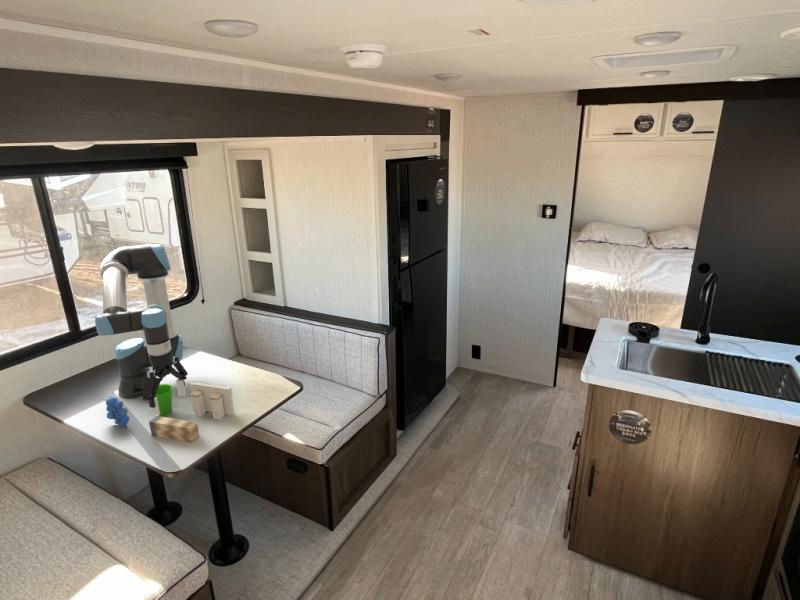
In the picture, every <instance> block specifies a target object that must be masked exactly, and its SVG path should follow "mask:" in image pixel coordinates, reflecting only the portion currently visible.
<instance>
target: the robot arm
mask: <svg viewBox="0 0 800 600" xmlns="http://www.w3.org/2000/svg"><path fill="white" fill-rule="evenodd" d="M171 268H172V267H171V264H170V261H169V257H168V254H167V251H166V249H165V247H164V246H163V245H162V244H158V243H157V244H152V243H150V244H140V245H131V246H121V247H118V248H116V249H114V250H113V251H110V253H109V254H107V256H106V257H105V258H104V259H103V260H102V262H101V265H100V269H99V270H100V272H99V273H100V276H101V278H102V280H103V281H102V285H103V286H102V287H103V288H102V314H100V315H99V314H98V315H96V316H95V318H94V321H95V322H94V323H95V324H94V325H95V329H96V332H97V334H98V335H99V336H100V337H102V336H103V337H104V336H114V335H121V334H125V333H133V332H137V331H143V334H144V338H142V337H133V338H130V339H127V340H124V341H122V342H121V343H119V344H117V346H115V349H114V354H115V360H116V363H117V368H118V374H119V377H120V379H119V386H118V388H117V389H118V390H117V391H118V395H119V396H120V397H121V398H122V399H123V398H124V399H137V398H141V397H142V398H141V399H142V400H143V401H147V402H148V405H149V406H148V407H149V408H150V410H151V414H152V415H155V416H159V414H160V411H159V406H158V401H157V398H155V396H156V393H157V390H158V388H159V385H161V383H162V381H163V379H164V378H165V377H167V376H168V375H170V374H171V375H172V376H173V377H175V378H176V380H175V382H176V388H177V392H178V393H177V394H178V396H180V397H186V395H187V394H186V387H185V386H186V383H185V380H187V376H188V375H189V373H188V372H187V370H186V369H185V367H184V366H183V365H182V363H181V362H180V361H182V360H183V359H184V358H183V357H184V355H183V354H184V347H183V345H184V344H183V335H180V334H179V332H178V331H177V330H175V329H174V324H173V323H174V322H173V318H172V313H171V305H170V301H169V295H168V290H167V289H168V288H167V283H166V278H167V276H169V273H168V272H169V271H172V269H171ZM130 275H137V278H138V280H140V281H142V285H143V290H144V296H145V301H146V305H147V307H146V308H142V309H135V310H129V311H128V302H127V301H128V300H127V299H128V298H127V297H128V296H127V278H128V276H130ZM150 368H152V369H151V370H150ZM151 395H152V396H151Z"/></svg>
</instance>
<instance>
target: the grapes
mask: <svg viewBox="0 0 800 600" xmlns="http://www.w3.org/2000/svg"><path fill="white" fill-rule="evenodd" d="M105 404H106V409H105V410H106V411H107V413H106V418H107V419H108V420H114V424H115V425H117V426H121V427H127V426H128V424H129V422H130V418H131V416H130V415H128V411H129V410H128V409H127V408H125V407H124V402H122V401H120V400H118V398H117V397H114V396H112V397H109V398H107V399H106V401H105Z"/></svg>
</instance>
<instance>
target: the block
mask: <svg viewBox="0 0 800 600" xmlns="http://www.w3.org/2000/svg"><path fill="white" fill-rule="evenodd" d="M148 424H149V428H150V434H151V436H155V437H161V438H166V439H170V440H177V441H181V442H182V441H183V442H188V443H194V442H195V441H196V440H197V439H198V438H199V437H200V432H199V426H198V422H195V421H190V420H183V419H178V418H172V417H167V416H159V415H155V416H154V417H153V418H151V419H149V421H148Z"/></svg>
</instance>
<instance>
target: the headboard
mask: <svg viewBox="0 0 800 600" xmlns="http://www.w3.org/2000/svg"><path fill="white" fill-rule="evenodd" d="M189 385H190V390H191V393H190V395H189V397H190V398H191V401H192V410H193V416H194V415H195V417H202V416H203V415H205V413H206V412H210V413H212V417H213V419H214V420H219V419H220V420H222V417H223V416H224V417H225V415H227V414H228V415H227V416H233V415H235V414H234V413H235V407H234V399H233V391H232V387H228V386H222V385H217V384H208V383H201V382H195V381H193V382H191V383H190V384H189ZM224 417H223V418H224Z"/></svg>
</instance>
